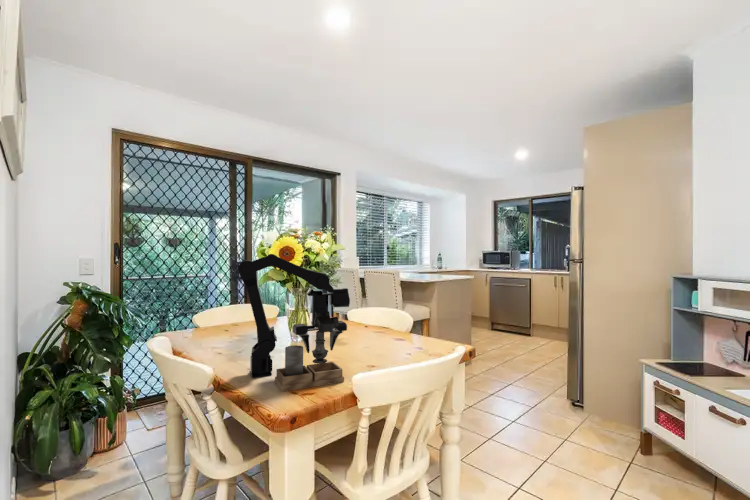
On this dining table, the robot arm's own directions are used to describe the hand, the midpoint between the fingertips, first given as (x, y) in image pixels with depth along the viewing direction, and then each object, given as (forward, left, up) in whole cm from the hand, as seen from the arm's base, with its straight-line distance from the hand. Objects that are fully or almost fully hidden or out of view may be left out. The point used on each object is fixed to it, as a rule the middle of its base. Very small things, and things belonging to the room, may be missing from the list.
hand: (319, 351), depth 135 cm
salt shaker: (0, 0, -4) cm, 4 cm away
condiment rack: (-7, -11, -6) cm, 14 cm away
